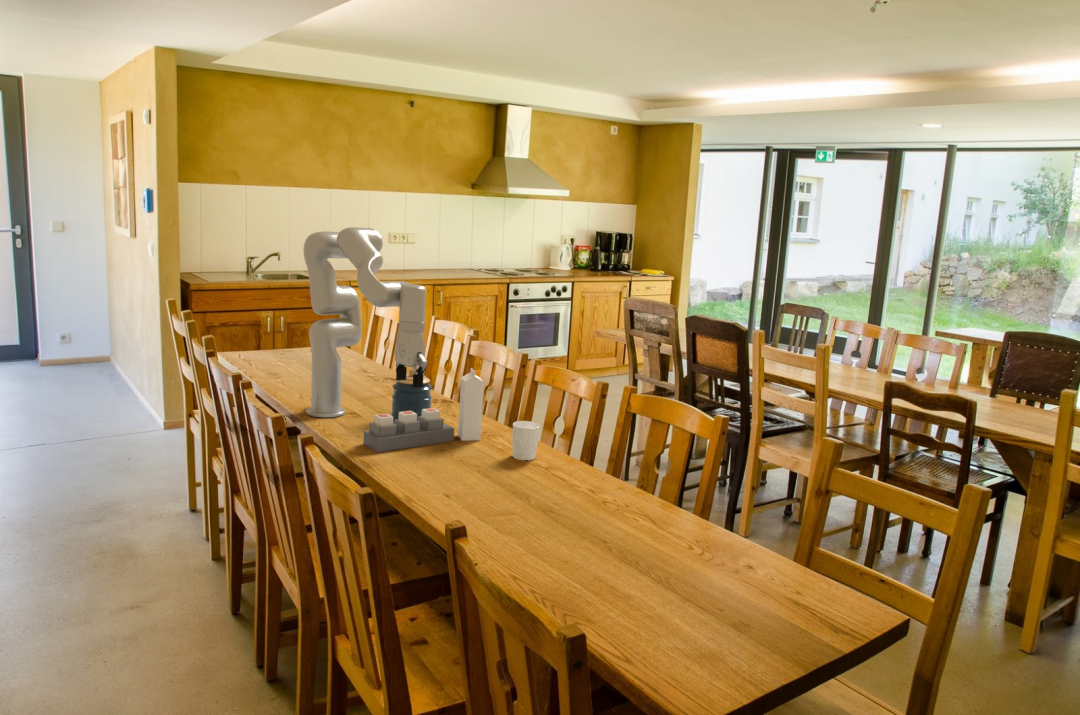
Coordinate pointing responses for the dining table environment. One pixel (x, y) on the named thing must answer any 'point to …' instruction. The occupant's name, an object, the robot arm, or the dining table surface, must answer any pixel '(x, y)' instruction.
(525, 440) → the white cup
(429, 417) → the button
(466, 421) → the milk
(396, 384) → the canister
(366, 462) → the dining table surface
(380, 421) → the button
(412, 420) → the button
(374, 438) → the button panel
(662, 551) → the dining table surface
